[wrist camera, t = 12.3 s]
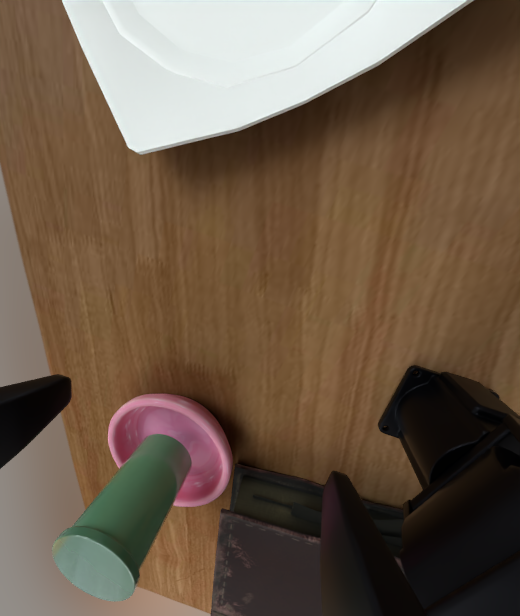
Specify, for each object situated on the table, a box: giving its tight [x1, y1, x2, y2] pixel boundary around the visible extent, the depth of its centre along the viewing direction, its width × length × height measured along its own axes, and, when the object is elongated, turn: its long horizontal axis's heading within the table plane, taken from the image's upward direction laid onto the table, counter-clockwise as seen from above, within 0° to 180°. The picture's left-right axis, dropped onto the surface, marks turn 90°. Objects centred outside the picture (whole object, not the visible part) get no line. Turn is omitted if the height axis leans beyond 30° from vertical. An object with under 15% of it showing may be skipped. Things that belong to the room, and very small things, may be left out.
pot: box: [52, 434, 192, 601], centre depth 18 cm, size 6×6×8 cm
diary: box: [211, 464, 405, 616], centre depth 23 cm, size 19×25×5 cm
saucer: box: [108, 394, 233, 507], centre depth 24 cm, size 12×12×3 cm
